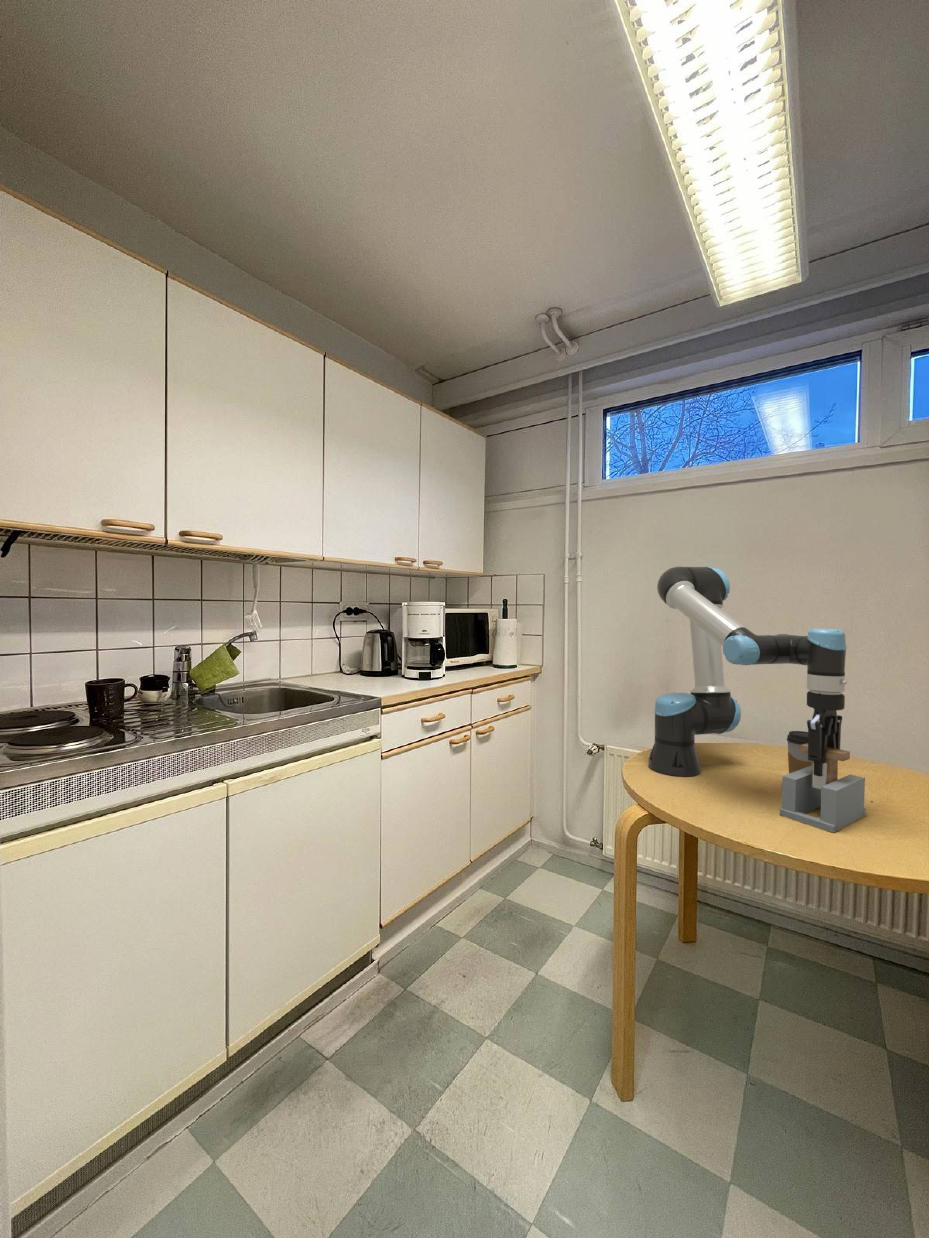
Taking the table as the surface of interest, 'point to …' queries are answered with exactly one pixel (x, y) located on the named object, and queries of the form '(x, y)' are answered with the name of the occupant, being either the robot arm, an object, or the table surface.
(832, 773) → the wooden t-shaped block
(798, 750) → the coffee cup
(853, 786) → the slot stand
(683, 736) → the robot arm
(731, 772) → the table surface
